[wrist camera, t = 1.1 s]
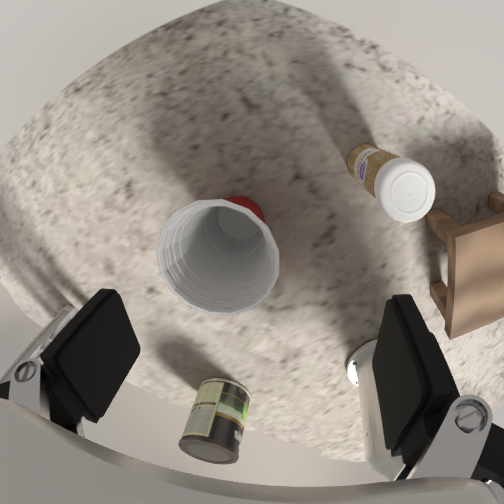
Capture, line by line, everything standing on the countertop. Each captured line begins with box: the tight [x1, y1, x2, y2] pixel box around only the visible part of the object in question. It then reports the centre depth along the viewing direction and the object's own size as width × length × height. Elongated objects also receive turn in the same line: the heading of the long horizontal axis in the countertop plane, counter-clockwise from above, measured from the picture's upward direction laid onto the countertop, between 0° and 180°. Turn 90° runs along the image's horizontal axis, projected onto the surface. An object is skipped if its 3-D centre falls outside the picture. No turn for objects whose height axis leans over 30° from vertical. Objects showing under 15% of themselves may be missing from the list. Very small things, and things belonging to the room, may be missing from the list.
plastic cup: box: [156, 196, 279, 316], centre depth 29 cm, size 11×11×12 cm
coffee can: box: [178, 378, 251, 464], centre depth 44 cm, size 10×10×14 cm
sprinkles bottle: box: [348, 144, 435, 222], centre depth 23 cm, size 5×5×14 cm
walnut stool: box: [426, 192, 504, 339], centre depth 26 cm, size 14×14×9 cm
